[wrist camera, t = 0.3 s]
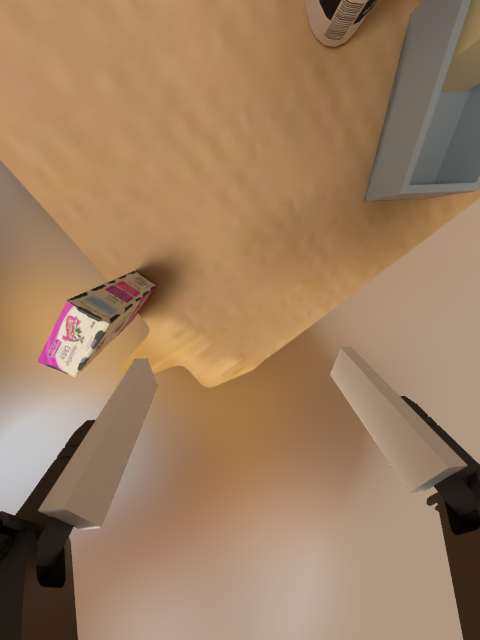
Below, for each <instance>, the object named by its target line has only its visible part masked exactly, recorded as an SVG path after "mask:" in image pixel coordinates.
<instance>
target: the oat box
mask: <svg viewBox="0 0 480 640" xmlns="http://www.w3.org/2000/svg"><path fill="white" fill-rule="evenodd" d="M479 83H480V0H471V3H470V6H469V9H468V12H467V15H466V18H465V21H464V24H463V27H462V30H461V33H460V36H459V38H458V41H457V44H456V47H455V50H454V53H453V56H452V59H451V62H450V65H449V68H448V71H447V74H446V77H445V80H444V83H443V86H442V89H441V92H465V91H467V90H469V89H470V88H472V87H474V86H476V85H477V84H479Z"/></svg>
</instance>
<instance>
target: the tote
mask: <svg viewBox="0 0 480 640" xmlns="http://www.w3.org/2000/svg"><path fill="white" fill-rule="evenodd" d="M470 3H471V0H423V1H422V3H421V4H420V5H419V6H418V7H417V8H416V9H415V11H414V12H413V13H412V14H411V15H410V20H409V24H408V28H407V32H406V36H405V40H404V44H403V48H402V52H401V56H400V60H399V64H398V68H397V72H396V76H395V80H394V84H393V88H392V92H391V96H390V100H389V105H388V109H387V113H386V117H385V121H384V125H383V129H382V133H381V137H380V141H379V145H378V149H377V153H376V157H375V161H374V165H373V169H372V173H371V177H370V181H369V185H368V189H367V194H366V198H365V201H383V200H407V199H429V198H435V197H442V196H448V195H454V194H460V193H467V192H473V191H478V190H479V188H480V83H479V84H477V85H476V86H474V87H472V88H470V89H469V90H467V91H465V92H441V89H442V86H443V83H444V80H445V77H446V74H447V71H448V68H449V65H450V62H451V59H452V56H453V53H454V50H455V47H456V44H457V41H458V38H459V36H460V33H461V30H462V27H463V24H464V21H465V18H466V15H467V12H468V9H469V6H470Z"/></svg>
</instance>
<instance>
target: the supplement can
mask: <svg viewBox="0 0 480 640" xmlns="http://www.w3.org/2000/svg"><path fill="white" fill-rule="evenodd" d="M376 1H377V0H306V11H307V16H308V21H309V25H310V27H311V29H312V31H313V33H314V35H315V37H316V38H317V39H318V40H319V41H320V42H321V43H323V44H324V45H325V46H333V47H336V46H338V45H340V44H343V43H345V42H346V41H347V40H348V39H349V38H350V37H351V36H352V35H353V34H354V33H355V32H356V31H357V29H358V28H359V26H360V25H361V23H362V22H363V20H364V19H365V17H366V16H367V14H368V13H369V12H370V10H371V9H372V7H373V6H374V4H375V3H376Z"/></svg>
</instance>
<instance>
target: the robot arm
mask: <svg viewBox="0 0 480 640" xmlns="http://www.w3.org/2000/svg"><path fill="white" fill-rule="evenodd" d="M330 375H331V376H332V378H333V380H334V381H335V383H336V384H337V386H338V387H339V389H340V390H341V391H342V393H343V394H344V396H345V398H346V399H347V400H348V402H349V403H350V405H351V406H352V408H353V409H354V411H355V412H356V414H357V415H358V417H359V418H360V420H361V421H362V423H363V424H364V426H365V427H366V429H367V430H368V432H369V433H370V435H371V436H372V438H373V439H374V441H375V442H376V444H377V445H378V446H379V448H380V450H381V451H382V453H383V454H384V456H385V457H386V458H387V460H388V461H389V463H390V464H391V466H392V467H393V469H394V470H395V472H396V473H397V475H398V476H399V478H400V479H401V481H402V482H403V484H404V485H405V487H406V488H407V490H408V491H409V493H411V492H419V491H426V490H427V489H429V488H431V487H433V486H434V487H435V488H436V490H437V491H438V492H437V493H435V494H433V495H432V496H430V497H429V498H427V505H429V506H431V505H433V504H435V503H438V505H437V506H436V507H435V510H437V511H439V513H440V519H441V524H442V529H443V535H444V540H445V545H446V551H447V556H448V561H449V566H450V571H451V577H452V582H453V587H454V593H455V598H456V603H457V608H458V614H459V619H460V624H461V629H462V635H463V639H464V640H480V464H478V463H477V462H476V461H475V460H474V459H473V458H472V457H471V456H470V455H469V454H468V453H467V452H466V451H465V450H464V449H463V448H462V447H461V446H459V445H458V444H457V443H456V442H455V441H454V440H453V439H452V438H451V437H450V436H449V435H448V434H447V433H446V432H445V431H444V430H443V429H442V428H441V427H440V426H438V425H437V424H436V422H435V421H434V420H433V419H432V418H431V417H428V415H427V414H426V413H425V412H424V411H423V410H422V409H421V408H420V407H419V406H418V405H417V404H415V403H414V402H413V401H411V400H410V399H408V398H407V397H405V396H399V395H398V394H397V393H396V392H395V391H394V390H393V389H392V388H391V387H390V386H389V385H388V384H387V383H386V382H385V381H384V380H383V379H382V378H381V377H380V376H379V375H378V374H377V373H376V372H375V371H374V370H373V369H372V368H371V367H370V365H368V363H367V362H365V360H364V359H363V358H362V357H361V356H360V355H358V353H357V352H356V351H355V350H354V349H353V348H352V347H345V348H341V349H340V351H339V354H338V357H337V359H336V361H335V364H334V367H333V369H332V372H331V374H330ZM157 387H158V385H157V382H156V379H155V377H154V374H153V372H152V369H151V367H150V364H149V362H148V359H147V358H146V359H135V360H134V362H133V363H132V365H131V366H130V368H129V369H128V371H127V372H126V374H125V376H124V377H123V379H122V380H121V382H120V383H119V385H118V386H117V388H116V390H115V391H114V393H113V394H112V396H111V397H110V399H109V400H108V402H107V404H106V405H105V407H104V408H103V410H102V412H101V413H100V415H99V416H98V418H97V419H96V420H87V421H86V422H85V423H84V424H83V425H82V426H81V427H79V428H78V429H77V430H76V431H75V432H74V434H73V435H72V436H71V438H70V439H69V441H68V442H67V444H66V445H65V448H63V449H62V451H61V452H60V453H59V455H58V456H57V459H56V460H54V462H53V463H52V465H51V466H50V468H49V469H48V470H47V472H46V473H45V475H44V476H43V477H42V479H41V480H40V482H39V483H38V485H37V486H36V487H35V489H34V490H33V492H32V493H31V495H30V496H29V497H28V499H27V500H26V502H25V503H24V504H23V506H22V507H21V508H20V510H19V511H18V512H17V513H16V515H15V516H14V515H11V514H8V513H6V512H3V511H1V512H0V640H78V636H77V622H76V609H75V595H74V582H73V568H72V555H71V542H70V539H69V535H70V533H71V531H72V529H73V527H76V528H78V529H80V530H84V529H92V528H101V527H102V524H103V522H104V520H105V517H106V515H107V512H108V510H109V507H110V505H111V502H112V500H113V497H114V495H115V492H116V490H117V487H118V485H119V482H120V479H121V477H122V475H123V472H124V470H125V467H126V465H127V462H128V460H129V457H130V455H131V452H132V450H133V447H134V445H135V442H136V440H137V437H138V435H139V432H140V430H141V427H142V425H143V422H144V420H145V417H146V415H147V413H148V410H149V408H150V405H151V403H152V400H153V398H154V395H155V393H156V390H157Z"/></svg>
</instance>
